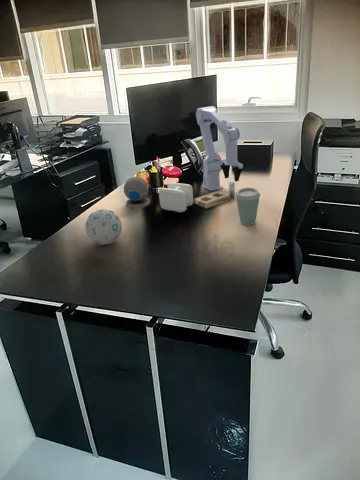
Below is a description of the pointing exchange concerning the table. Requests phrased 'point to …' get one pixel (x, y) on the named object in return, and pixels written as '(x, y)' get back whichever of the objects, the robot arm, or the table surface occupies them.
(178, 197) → the cable organizer
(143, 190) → the webcam
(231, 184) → the pin
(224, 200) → the socket block
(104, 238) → the puzzle ball
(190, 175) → the table surface
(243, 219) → the disposable coffee cup
